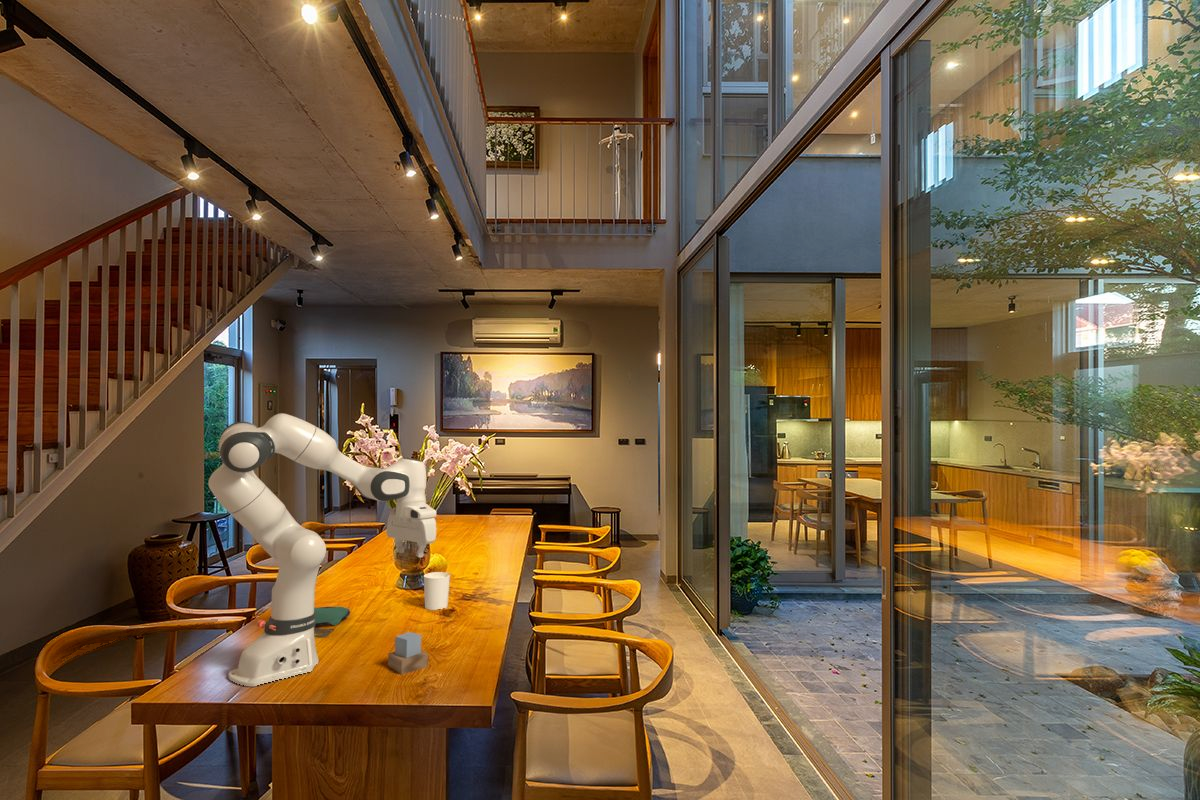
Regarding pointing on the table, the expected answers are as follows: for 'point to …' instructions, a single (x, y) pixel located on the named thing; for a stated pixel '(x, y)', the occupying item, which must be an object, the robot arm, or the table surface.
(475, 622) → the table surface
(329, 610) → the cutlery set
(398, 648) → the block
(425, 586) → the candle holder
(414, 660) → the walnut base
